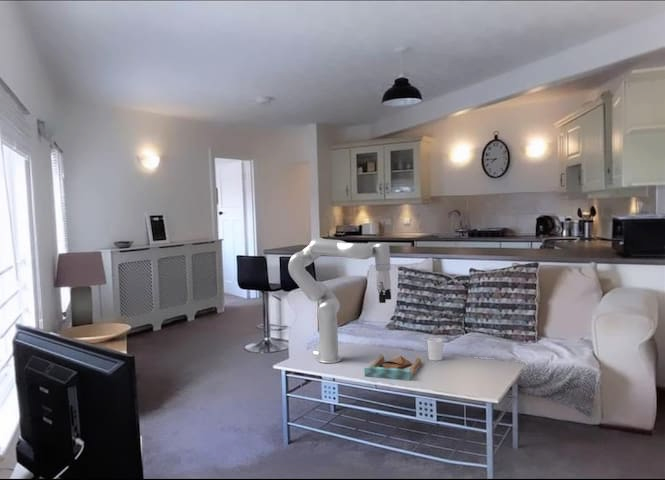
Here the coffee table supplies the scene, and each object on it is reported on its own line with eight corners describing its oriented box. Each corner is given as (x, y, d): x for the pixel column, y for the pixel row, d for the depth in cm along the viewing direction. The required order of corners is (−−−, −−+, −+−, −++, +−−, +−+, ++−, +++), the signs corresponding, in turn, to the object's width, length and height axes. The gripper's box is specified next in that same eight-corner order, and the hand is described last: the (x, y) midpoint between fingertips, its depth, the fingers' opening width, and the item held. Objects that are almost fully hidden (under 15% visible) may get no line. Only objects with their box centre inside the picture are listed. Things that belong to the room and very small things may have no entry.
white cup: (443, 361, 247) (443, 341, 246) (427, 361, 248) (427, 341, 248) (443, 357, 255) (442, 337, 254) (427, 356, 256) (427, 337, 256)
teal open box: (364, 376, 228) (364, 367, 228) (380, 360, 253) (380, 352, 253) (409, 380, 220) (409, 371, 220) (421, 363, 245) (421, 355, 245)
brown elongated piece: (393, 373, 231) (387, 359, 233) (383, 378, 235) (377, 365, 237) (415, 364, 244) (408, 351, 246) (405, 369, 248) (399, 356, 250)
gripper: (381, 265, 257) (383, 298, 258) (370, 269, 241) (373, 304, 242) (394, 265, 254) (397, 298, 255) (385, 269, 238) (387, 304, 239)
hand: (385, 301), depth 249 cm, fingers open, 9 cm apart
